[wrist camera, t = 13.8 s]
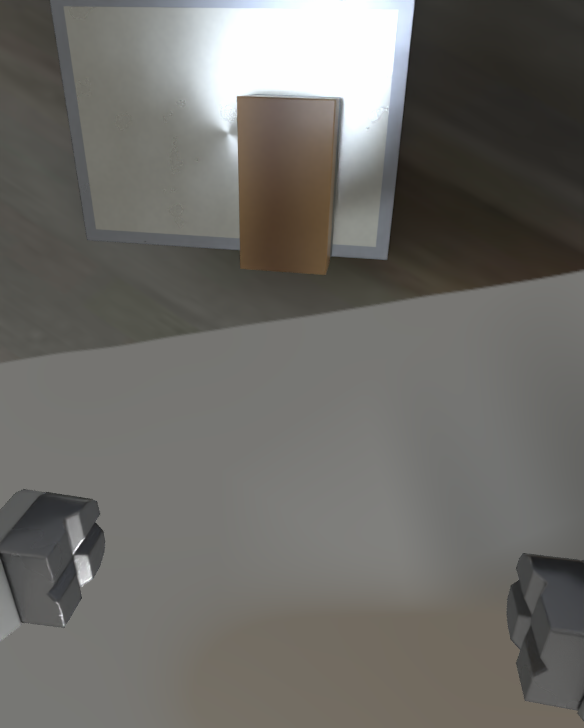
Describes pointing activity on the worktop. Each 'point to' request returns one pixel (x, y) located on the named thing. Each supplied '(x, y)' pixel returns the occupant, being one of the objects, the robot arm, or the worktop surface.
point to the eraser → (287, 181)
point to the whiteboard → (225, 109)
